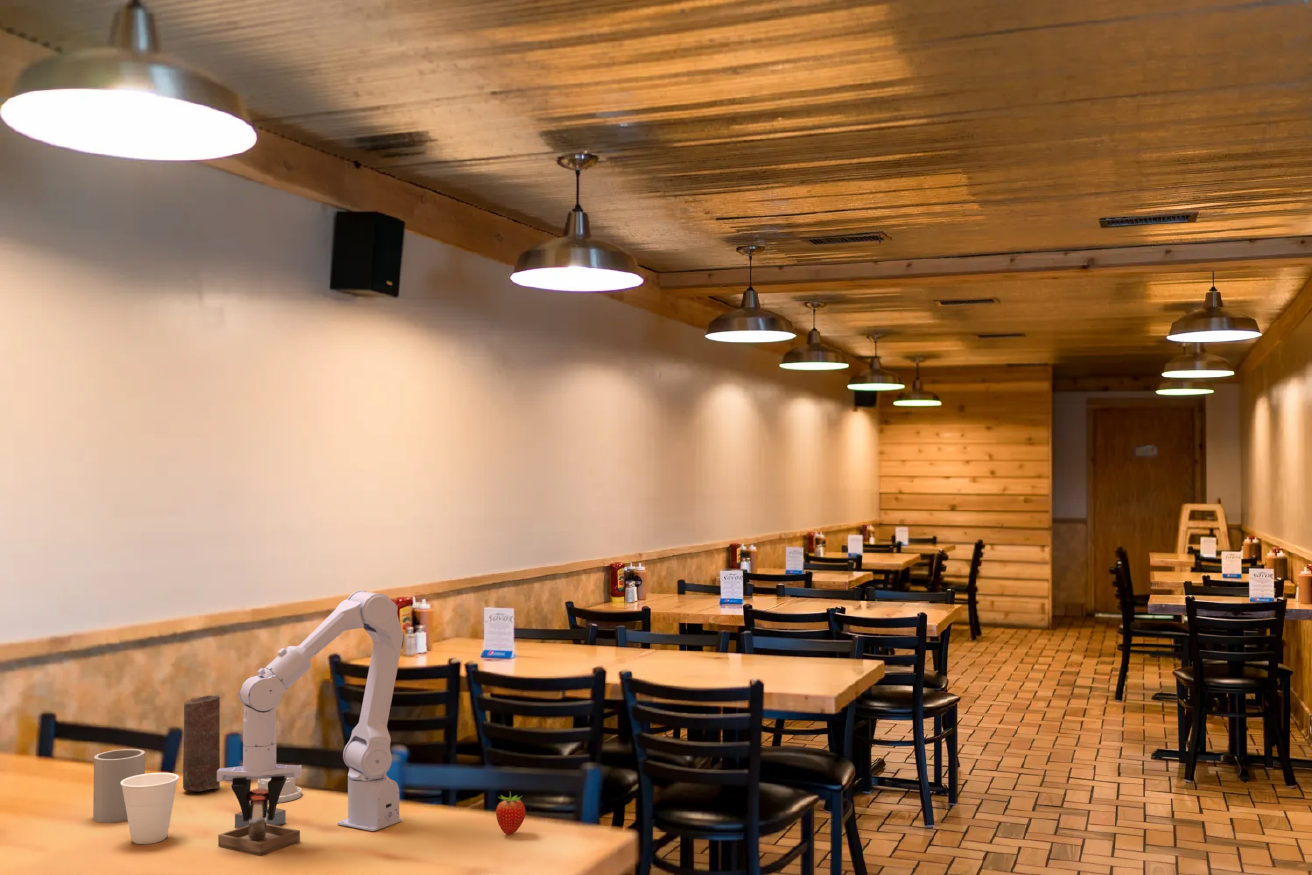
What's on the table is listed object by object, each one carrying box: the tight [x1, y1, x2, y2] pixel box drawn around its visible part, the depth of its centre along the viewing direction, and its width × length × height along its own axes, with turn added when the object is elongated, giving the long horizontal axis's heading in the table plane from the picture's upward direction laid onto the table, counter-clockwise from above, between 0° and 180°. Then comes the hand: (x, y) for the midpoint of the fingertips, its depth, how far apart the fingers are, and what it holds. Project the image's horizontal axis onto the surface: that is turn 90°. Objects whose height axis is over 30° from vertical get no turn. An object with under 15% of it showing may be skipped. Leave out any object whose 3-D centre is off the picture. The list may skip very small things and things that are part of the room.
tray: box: [217, 824, 301, 856], centre depth 208 cm, size 11×9×2 cm
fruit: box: [495, 791, 526, 836], centre depth 212 cm, size 5×5×8 cm
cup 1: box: [92, 748, 146, 824], centre depth 227 cm, size 9×9×12 cm
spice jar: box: [248, 788, 269, 839], centre depth 208 cm, size 4×4×8 cm
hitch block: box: [234, 806, 287, 829], centre depth 219 cm, size 6×6×2 cm
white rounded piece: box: [257, 778, 302, 804], centre depth 239 cm, size 10×4×10 cm
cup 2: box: [120, 772, 180, 845], centre depth 211 cm, size 10×10×11 cm
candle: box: [182, 694, 221, 793], centre depth 245 cm, size 8×7×20 cm
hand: (259, 819), depth 208 cm, fingers closed on spice jar, 4 cm apart
